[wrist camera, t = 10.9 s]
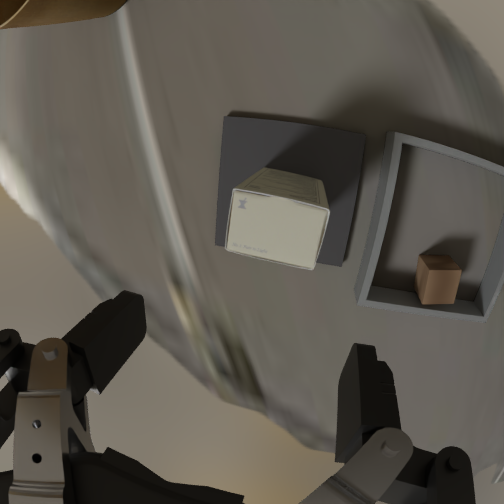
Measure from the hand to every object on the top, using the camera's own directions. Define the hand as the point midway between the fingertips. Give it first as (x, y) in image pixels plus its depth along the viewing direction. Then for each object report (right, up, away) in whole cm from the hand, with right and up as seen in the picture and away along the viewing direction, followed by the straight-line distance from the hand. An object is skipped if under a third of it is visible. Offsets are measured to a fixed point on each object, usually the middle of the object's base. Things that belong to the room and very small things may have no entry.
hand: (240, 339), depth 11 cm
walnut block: (+21, +1, +19) cm, 29 cm away
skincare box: (+4, +9, +19) cm, 22 cm away
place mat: (+4, +9, +20) cm, 22 cm away
